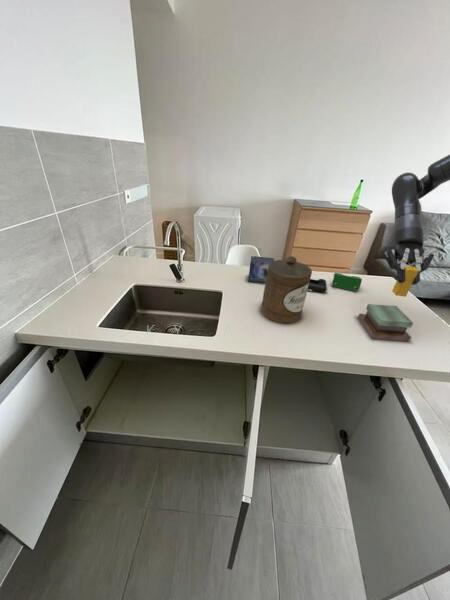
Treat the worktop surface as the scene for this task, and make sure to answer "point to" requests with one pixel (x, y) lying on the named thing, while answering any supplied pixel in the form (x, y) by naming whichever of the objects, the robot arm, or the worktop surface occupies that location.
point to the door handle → (317, 285)
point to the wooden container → (285, 290)
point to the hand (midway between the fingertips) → (408, 282)
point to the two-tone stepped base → (386, 323)
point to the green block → (346, 282)
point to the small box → (259, 269)
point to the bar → (404, 287)
